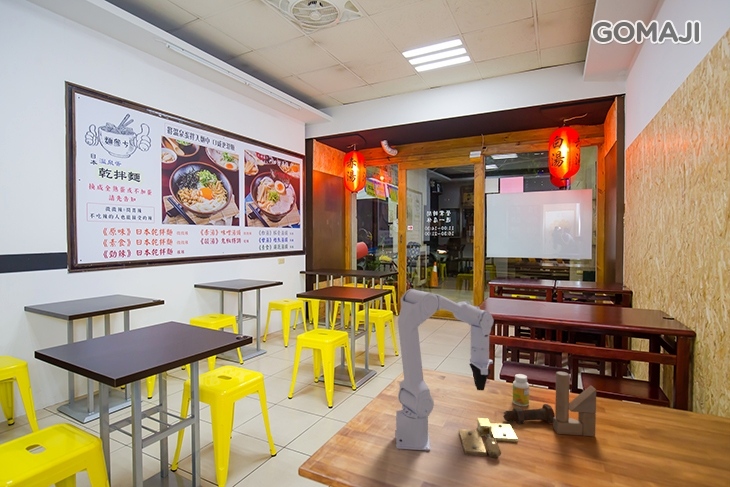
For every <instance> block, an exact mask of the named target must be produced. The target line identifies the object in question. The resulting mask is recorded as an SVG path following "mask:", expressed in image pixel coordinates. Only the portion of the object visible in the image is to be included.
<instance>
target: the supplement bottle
mask: <svg viewBox="0 0 730 487" xmlns="http://www.w3.org/2000/svg"><path fill="white" fill-rule="evenodd" d="M512 402H513V404H514V405H516V406H518V407H519V406H520V407H527V405H528V406H529V404H530V384H529V382H528V376H527V375H526V374H522V373H517V374H515V375H514V381H512Z"/></svg>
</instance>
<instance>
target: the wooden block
mask: <svg viewBox="0 0 730 487" xmlns="http://www.w3.org/2000/svg"><path fill="white" fill-rule="evenodd" d="M554 409H555V411H554V414H555V417H553V423H552V426H553V427H552V428H553V430H554V431H555V432H556V434H558V435H571V436H584V437H596V416H597V414H596V413H597V389H596V388H595V387H594V386H592V385H591V384H590V385H589V386H588V387H587V388H585V389H584V390H583V391H582V392H580V393H579V395H577V396H576V397H574V399H572V400H571V401H570V374H569V373H568V372H565V371H556V372H555V408H554ZM570 412H573V413H578V417H577V419H575V418H572V417H569V415H570Z"/></svg>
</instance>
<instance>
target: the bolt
mask: <svg viewBox="0 0 730 487" xmlns="http://www.w3.org/2000/svg"><path fill="white" fill-rule="evenodd" d="M541 407H542V408H541ZM541 407H540V408H535V409H534V408H532V409H522V408H521V407H519V406H515V407H514V408H513V409H512V410H505V411H503V413H502V414H503V420H505V421H506V422H507V423H508V422H509V423H510V422H515V423H516V424H519V425H523V424H524V423H525V422H526V421H545V422H546V423H548V424H549V423H552V424H553V417H555V411H554V409H553V408H552V406H551V405H550V404H548V403H543V405H542V406H541Z"/></svg>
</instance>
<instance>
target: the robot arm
mask: <svg viewBox="0 0 730 487" xmlns="http://www.w3.org/2000/svg"><path fill="white" fill-rule="evenodd" d="M480 308H481V307H480V306H477V305H471V302H470V301H467V300H463V301H459V302H455V301H454V300H452V299H449V298H447V297H445V296H444V295H441V294H437V293H432V292H428V291H423V290H417V289H415V288H410V289H408V290H406V291H405V292H404V294H402V297H400V310H399V315H398V319H397V325H398V327H397V328H398V335H399V343H400V354H401V363H402V364H401V365H402V371H403V379H402V380H401V381H400V382H399V391H398V394H397V400H398V402H399V403H400V404H401V409H400V410H396V411H395V412H396V416H395V417H396V421H395V423H396V424H395V432H394V437H395V440H396V442H395V443H396V444H395V446H396V449H398V450H399V449H400V450H413V451H414V450H415V451H431V443H430V436H429V435H430V434H429V417H430V415H431V413H432V411H433V410H434V406H435V404H434V399H433V397H432V395H431V391H430V390H431V389H430V388H429V386H428V385H427V382H425V380H424V374H423V373H424V372H423V362H422V361H423V360H422V353H421V344H420V337H419V336H420V335H419V334H420V333H419V327H420V325H421V324H423V323H425V322H426V321H427V320H428V319H430V318H431V317H432V316H433V315H434V314H435V313H436V312H437V311H440V310H445V311H448V312H451V313H452V314H453V317H454V318H455V319H456V320H459V321H461V322H464V323H466V324H468V326H470V358H469V367H470V369H471V372H472V375H473V381H474V385H475V387H476V390H477V391H485V387H486V384H487V380H488V377H489V376H490V374H491V371H492V370H491V369H489V366H490V365H491V364H493V363H494V362H493V359H490V334H491V332H492V327H493V325H494V321H495V319H494V318H493V315H492V314H491V313H490V311H488V310H483V309H480Z"/></svg>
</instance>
